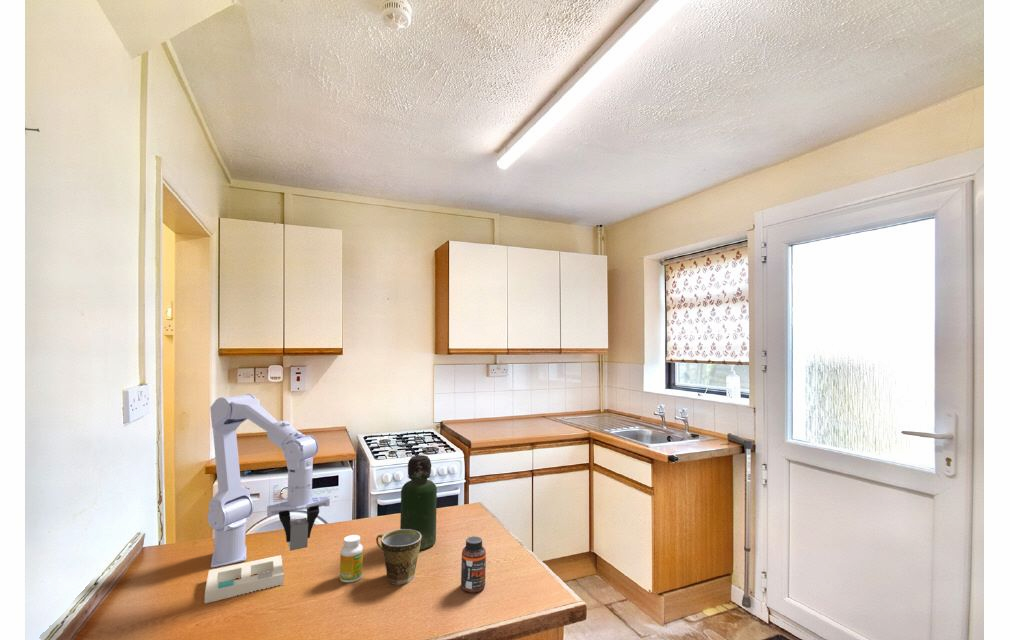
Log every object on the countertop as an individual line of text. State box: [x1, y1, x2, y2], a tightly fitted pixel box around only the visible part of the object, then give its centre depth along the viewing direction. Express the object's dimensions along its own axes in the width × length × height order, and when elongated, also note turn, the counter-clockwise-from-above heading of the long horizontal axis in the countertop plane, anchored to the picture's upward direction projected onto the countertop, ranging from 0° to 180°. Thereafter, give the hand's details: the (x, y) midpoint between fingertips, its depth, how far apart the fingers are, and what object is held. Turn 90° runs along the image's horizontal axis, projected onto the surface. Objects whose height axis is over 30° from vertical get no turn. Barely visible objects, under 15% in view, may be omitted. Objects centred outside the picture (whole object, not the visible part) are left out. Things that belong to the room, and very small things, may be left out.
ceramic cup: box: [375, 529, 421, 586], centre depth 112 cm, size 13×10×10 cm
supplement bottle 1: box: [339, 534, 364, 583], centre depth 111 cm, size 5×5×10 cm
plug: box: [288, 517, 309, 552], centre depth 113 cm, size 4×4×6 cm
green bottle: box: [399, 454, 438, 551], centre depth 131 cm, size 10×10×25 cm
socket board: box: [204, 554, 285, 604], centre depth 108 cm, size 11×16×3 cm
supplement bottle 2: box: [460, 536, 487, 594], centre depth 107 cm, size 6×6×11 cm
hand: (297, 538), depth 113 cm, fingers closed on plug, 4 cm apart
